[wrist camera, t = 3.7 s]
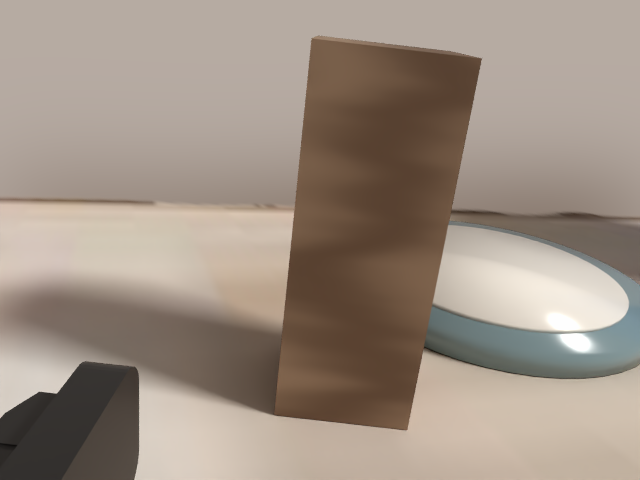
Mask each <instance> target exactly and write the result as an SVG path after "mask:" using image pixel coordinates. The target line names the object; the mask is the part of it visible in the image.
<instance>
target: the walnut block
mask: <svg viewBox="0 0 640 480" xmlns="http://www.w3.org/2000/svg"><path fill="white" fill-rule="evenodd" d="M481 60H482V59H481V58H477V57H473V56H469V55H464V54H460V53H456V52H451V51H443V50H435V49H426V48H418V47H409V46H400V45H392V44H384V43H376V42H367V41H359V40H350V39H341V38H333V37H325V36H316V37H314V38H312V40H311V50H310V61H309V71H308V81H307V90H306V100H305V111H304V120H303V130H302V141H301V151H300V160H299V171H298V181H297V191H296V201H295V211H294V221H293V231H292V241H291V251H290V261H289V271H288V281H287V291H286V301H285V311H284V321H283V331H282V341H281V351H280V361H279V371H278V381H277V391H276V401H275V411H274V415H279V416H287V417H296V418H305V419H314V420H323V421H332V422H340V423H349V424H358V425H367V426H376V427H385V428H394V429H402V430H407V428H408V423H409V418H410V413H411V408H412V403H413V398H414V393H415V388H416V383H417V378H418V373H419V369H420V364H421V359H422V354H423V349H424V344H425V339H426V334H427V329H428V324H429V319H430V314H431V309H432V304H433V299H434V294H435V289H436V284H437V279H438V274H439V269H440V264H441V259H442V254H443V249H444V244H445V239H446V234H447V229H448V224H449V219H450V214H451V209H452V204H453V199H454V194H455V189H456V184H457V179H458V174H459V169H460V164H461V159H462V154H463V149H464V145H465V139H466V134H467V130H468V125H469V120H470V115H471V110H472V104H473V100H474V94H475V90H476V84H477V80H478V75H479V70H480V65H481Z"/></svg>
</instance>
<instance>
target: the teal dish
mask: <svg viewBox="0 0 640 480" xmlns="http://www.w3.org/2000/svg"><path fill="white" fill-rule="evenodd" d="M424 347H426V348H428V349H431V350H433V351H436V352H439V353H441V354H444V355H447V356H450V357H453V358H456V359H458V360H462V361H465V362H469V363H473V364H476V365H480V366H483V367H487V368H492V369H497V370H501V371H506V372H511V373H518V374H524V375H531V376H539V377H552V378H591V377H602V376H608V375H612V374H617V373H622V372H624V371H627V370H629V369H632V368H634V367H636V366H638V365H639V364H640V285H639V284H637V283H636V282H635V281H633V280H632V279H631V278H629V277H628V276H626V275H624V274H623V273H621V272H620V271H618V270H616V269H614V268H613V267H611V266H609V265H607V264H605V263H603V262H601V261H599V260H597V259H595V258H593V257H591V256H588V255H586V254H584V253H581V252H579V251H576V250H574V249H571V248H568V247H566V246H563V245H560V244H557V243H554V242H551V241H548V240H545V239H542V238H538V237H535V236H531V235H528V234H524V233H520V232H516V231H512V230H507V229H502V228H497V227H492V226H486V225H480V224H473V223H466V222H457V221H449V224H448V229H447V234H446V239H445V244H444V249H443V254H442V259H441V264H440V269H439V274H438V279H437V284H436V289H435V294H434V299H433V304H432V309H431V314H430V319H429V324H428V329H427V334H426V339H425V344H424Z"/></svg>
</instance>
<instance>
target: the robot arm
mask: <svg viewBox="0 0 640 480" xmlns="http://www.w3.org/2000/svg"><path fill="white" fill-rule="evenodd" d="M138 456H139V375H138V371H137V369H136V368H135V367H131V366H122V365H113V364H104V363H95V362H87V361H85V362H82V363H81V364H80V365H79V366H78V367H77V369H76V370H75V371H74V372H73V374H72V375H71V376H70V378H69V379H68V380H67V382H66V383H65V384H64V385H63V387H62V388H61V389H60V391H59V392H58V393H57V394H54V393H45V392H38V393H37V394H35V395H34V396H32V397H30V398H29V399H27V400H25V401H24V402H22V403H21V404H19V405H17V406H16V407H14V408H13V409H11V410H9V411H8V412H6V413H5V414H4V415H3V416H2V417H1V418H0V480H134V478H135V474H136V469H137V464H138Z"/></svg>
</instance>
